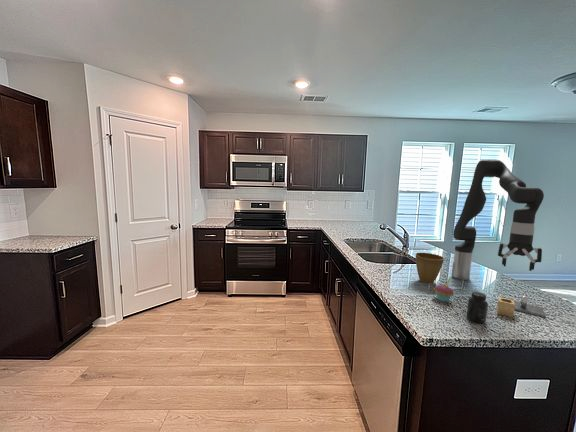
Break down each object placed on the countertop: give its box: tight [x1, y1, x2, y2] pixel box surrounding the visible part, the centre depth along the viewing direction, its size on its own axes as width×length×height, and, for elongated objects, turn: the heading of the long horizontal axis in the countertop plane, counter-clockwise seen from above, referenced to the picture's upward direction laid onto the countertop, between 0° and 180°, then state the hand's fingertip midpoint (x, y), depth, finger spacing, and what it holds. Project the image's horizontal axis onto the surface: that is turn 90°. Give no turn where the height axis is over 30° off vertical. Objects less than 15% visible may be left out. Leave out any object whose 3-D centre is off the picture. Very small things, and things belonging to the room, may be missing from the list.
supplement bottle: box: [465, 291, 489, 325], centre depth 106 cm, size 7×7×12 cm
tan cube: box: [496, 296, 515, 318], centre depth 114 cm, size 6×6×6 cm
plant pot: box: [415, 252, 445, 285], centre depth 149 cm, size 15×15×16 cm
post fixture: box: [514, 295, 547, 318], centre depth 119 cm, size 14×10×6 cm
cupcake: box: [433, 277, 455, 302], centre depth 126 cm, size 9×8×12 cm
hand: (517, 268), depth 112 cm, fingers open, 8 cm apart
